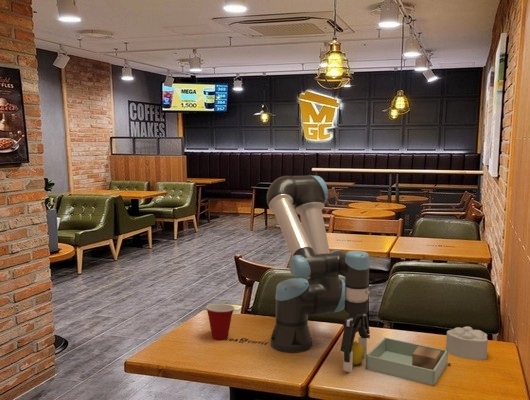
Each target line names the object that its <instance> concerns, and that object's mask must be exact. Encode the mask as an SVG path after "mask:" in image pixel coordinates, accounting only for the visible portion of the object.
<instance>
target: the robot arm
mask: <svg viewBox="0 0 530 400" xmlns="http://www.w3.org/2000/svg"><path fill="white" fill-rule="evenodd" d="M328 190H329V189H328V187H327V183H326V181H325V180H324V179H323V178H322V177H321V176H319V175H312V174H309V175H282V176H280V177H278V178H276V179H274V181H273V182H271V184H270V185H269V187H268V189H267V193H266V203H267V207H268V209H269V210H270V212H271V213H272V214H274V216H275V218H276V221H277V223H278V226H279V228H280V230H281V233H282V235H283V238H284V240H285V242H286V245H287V247H288V249H289V252H290V253H291V257H290V258H289V263H288V267H289V272H290V274H291V276H292V278H288V279H284V280H282V281H280V282H279V283H277V285H276V288H275V294H274V297H275V298H274V300H275V322H274V323H275V324H274V328H273V330H272V333H271V335H270V346H271V348H272V349H275V350H277V351H278V352H279V351H280V352H284V353H302V352H305V351H306V352H307V351H308V350H310V349H311V348H312V347H313V337H312V336H313V335H312V333H311V330H310V329H311V328H310V326H309V316H313V315H322V314H333V313H337V312H342V311H343V310H344V311H345V312H346V313H348V319H347V318H345V319H344V322H343V323H344V327H343V333H342V339H341V344H340V349H339V350H340V352H343V366H342V369H343V371H344V372H347V373H348V372H349V373H352V372H353V363H352V357H353V352H352V351H351V350H352V346H353V342H355V338H356V333H358V336H359V337H358V341H357V342H358V343H360V344H361V345H362V347H363V350H364V358H363V359H366V355H367V354H368V353H367V351H368V349H367V347H368V339H370V336H371V335H370V333H371V332H370V325H369V319H368V312H369V295H370V293H371V292H370V290H369V285H370V284H369V283H370V281H369V280H370V266H371V265H370V255H369V253H368V252H366V251H363V250H362V251H361V250H349V251H347V252H345V251H344V250H336V249H335V250H332V251H331V250H330V247H329V242H328V237H327V236H328V235H327V231H326V227H325V221H324V216H323V210H324V208H325V204H326V203H327V201H328V198H329V196H328V194H329V191H328ZM298 214H299V216H300V217H299V216H298ZM340 276H343V277H344V279H342V278H340Z"/></svg>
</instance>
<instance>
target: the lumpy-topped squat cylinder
mask: <svg viewBox="0 0 530 400" xmlns="http://www.w3.org/2000/svg"><path fill="white" fill-rule="evenodd" d="M488 343H489V341H488V334H487V333H485V332H484V331H482V330H480V329H473V327H471V326H469V325H468V326H463V327H459V326H458V327H455V328H453V329H449V330H446V342H445V350H448V354H451V355H453V356H455V357H459V358H462V359H468V360H476V361H484V360H487V359H488Z"/></svg>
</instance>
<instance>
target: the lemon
mask: <svg viewBox="0 0 530 400" xmlns="http://www.w3.org/2000/svg"><path fill="white" fill-rule="evenodd" d="M351 351H352V352H353V357H352V365H354V366H357V365H358V364H361V363H362V362H363V360H364V359H365V358H364V350H363V347H362V345H361V344H360V343H358V341H355V340H354V342H353V346H352V350H351Z"/></svg>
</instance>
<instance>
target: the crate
mask: <svg viewBox="0 0 530 400" xmlns="http://www.w3.org/2000/svg"><path fill="white" fill-rule="evenodd" d="M418 346H420V347H424V348H429V349H434V350H439V351H441V356H440V360H439V362H438V363H437V365H436V366H435V368H434V369H433V370H430V369H426V368H421V367H417V366H413V365H412V354H413V352H414V351H415V350H416V349H417V347H418ZM448 357H449V352H448V350H446V349H441V348H438V347H432V346H428V345H423V344H419V343H418V344H417V343H413V342H410V341H409V342H408V341H405V340H404V341H403V340H399V339H394V338H389V337H383V338H382V339H381V340H380V341H379V342H378V343H377V344H376V345H375V346H374V347H373V348H372V349H371V350H370V351H369V352H368V353H367V355H366V358H365V370H369V371H372V372H377V373H380V374H385V375H389V376H392V377H397V378H401V379H405V380H409V381H413V382H417V383H421V384H425V385H429V386H435V385H436V383H437V381H438V380H439V378H440V376H441V375H442V373H443V372H444V371H445V369H446V367H447V365H448V361H449V360H448Z"/></svg>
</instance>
